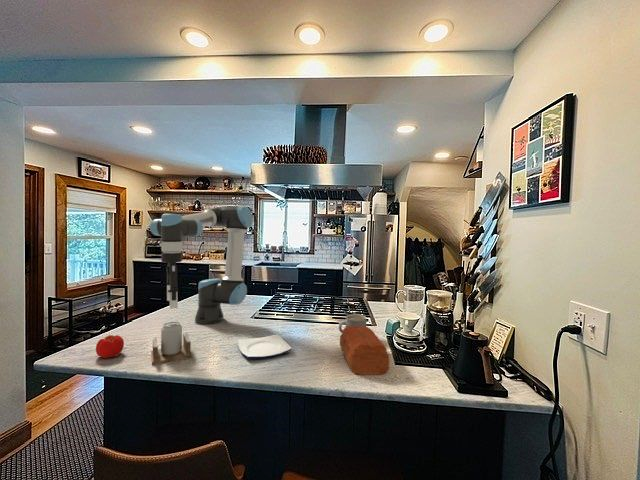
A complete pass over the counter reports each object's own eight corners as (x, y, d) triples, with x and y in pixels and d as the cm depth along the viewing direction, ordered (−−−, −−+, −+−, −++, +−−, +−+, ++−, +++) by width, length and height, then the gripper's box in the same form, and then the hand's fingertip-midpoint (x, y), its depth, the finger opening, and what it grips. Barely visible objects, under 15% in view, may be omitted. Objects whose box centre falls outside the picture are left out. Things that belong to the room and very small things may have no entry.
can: (173, 357, 116) (173, 327, 116) (156, 355, 117) (156, 325, 117) (185, 349, 123) (185, 321, 123) (169, 348, 125) (169, 319, 124)
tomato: (103, 362, 113) (103, 343, 112) (91, 357, 117) (91, 338, 117) (129, 353, 121) (129, 335, 120) (117, 349, 125) (117, 331, 125)
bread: (371, 346, 135) (372, 323, 134) (391, 374, 108) (392, 346, 108) (338, 346, 133) (338, 323, 133) (350, 376, 107) (350, 347, 106)
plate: (245, 364, 114) (245, 358, 114) (235, 345, 132) (235, 339, 132) (294, 355, 123) (294, 349, 123) (278, 338, 141) (278, 333, 141)
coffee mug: (365, 334, 149) (365, 314, 149) (366, 341, 139) (367, 320, 139) (338, 333, 150) (338, 313, 150) (338, 340, 140) (338, 319, 140)
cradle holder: (188, 346, 129) (188, 331, 129) (192, 357, 119) (192, 341, 118) (151, 353, 122) (151, 337, 121) (151, 365, 111) (151, 347, 111)
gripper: (159, 250, 128) (159, 298, 129) (163, 255, 107) (163, 313, 108) (178, 249, 132) (178, 296, 133) (186, 254, 111) (186, 310, 112)
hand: (172, 304), depth 120 cm, fingers open, 13 cm apart
